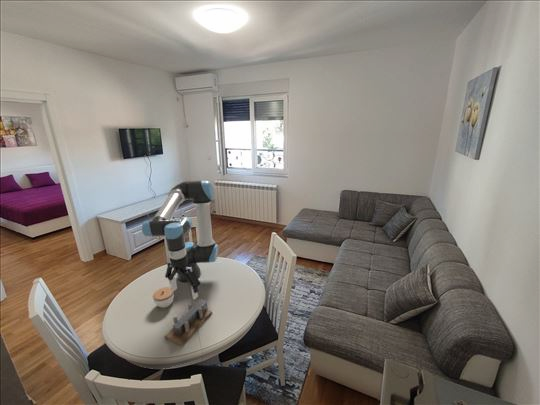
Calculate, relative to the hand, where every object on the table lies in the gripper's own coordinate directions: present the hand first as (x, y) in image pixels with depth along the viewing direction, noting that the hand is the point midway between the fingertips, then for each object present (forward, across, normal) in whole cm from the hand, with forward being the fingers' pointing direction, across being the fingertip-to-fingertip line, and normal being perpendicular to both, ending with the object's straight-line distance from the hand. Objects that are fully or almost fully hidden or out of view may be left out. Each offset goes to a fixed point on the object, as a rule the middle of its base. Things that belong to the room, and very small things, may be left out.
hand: (184, 293), depth 118 cm
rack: (+19, 0, 0) cm, 19 cm away
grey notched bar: (+18, 0, +1) cm, 18 cm away
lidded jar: (+20, -24, +6) cm, 31 cm away
